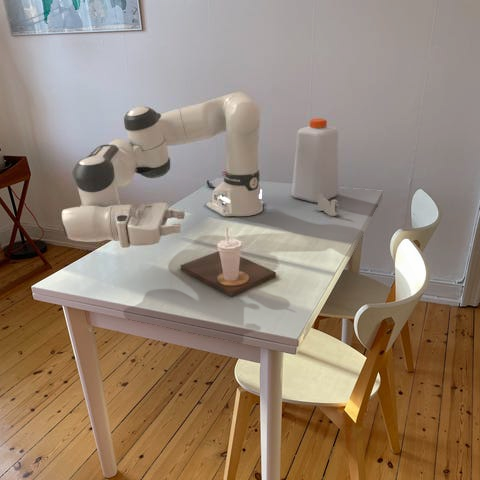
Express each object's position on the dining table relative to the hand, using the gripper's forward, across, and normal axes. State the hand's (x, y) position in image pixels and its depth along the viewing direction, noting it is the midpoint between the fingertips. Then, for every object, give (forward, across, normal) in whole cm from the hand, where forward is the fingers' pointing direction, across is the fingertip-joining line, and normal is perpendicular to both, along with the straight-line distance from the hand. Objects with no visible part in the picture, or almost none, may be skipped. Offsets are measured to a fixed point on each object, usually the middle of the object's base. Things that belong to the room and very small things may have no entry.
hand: (182, 221), depth 123 cm
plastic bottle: (+42, -73, -18) cm, 86 cm away
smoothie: (+11, 0, -16) cm, 20 cm away
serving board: (+10, -6, -18) cm, 22 cm away
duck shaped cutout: (+44, -52, -18) cm, 71 cm away
